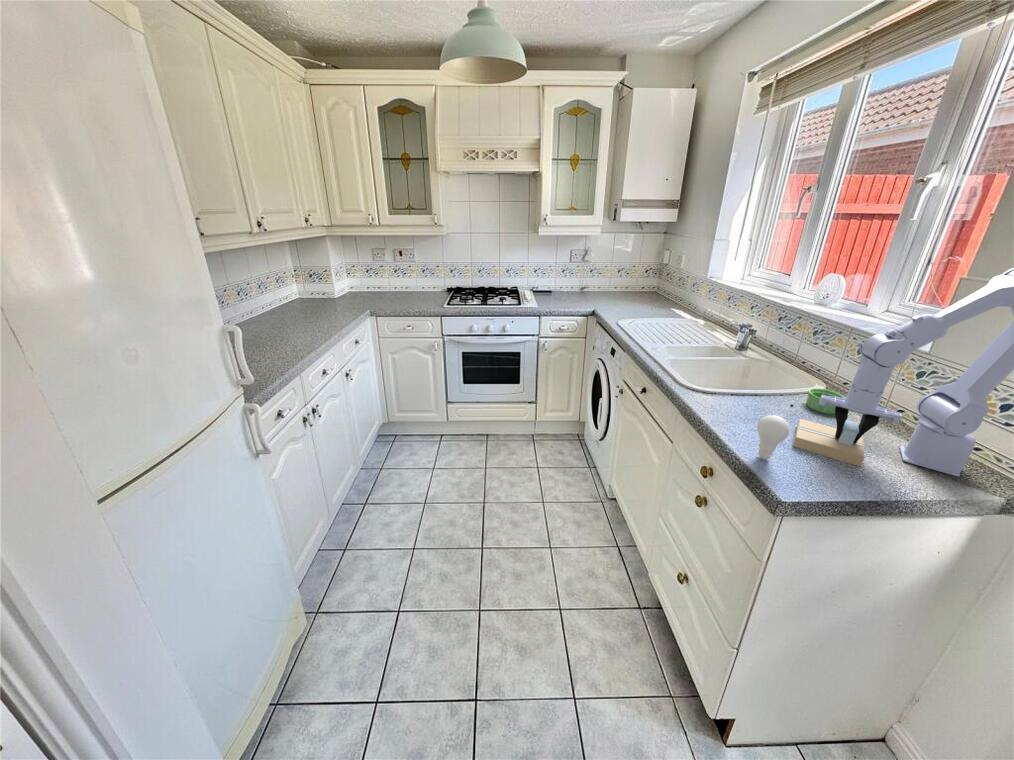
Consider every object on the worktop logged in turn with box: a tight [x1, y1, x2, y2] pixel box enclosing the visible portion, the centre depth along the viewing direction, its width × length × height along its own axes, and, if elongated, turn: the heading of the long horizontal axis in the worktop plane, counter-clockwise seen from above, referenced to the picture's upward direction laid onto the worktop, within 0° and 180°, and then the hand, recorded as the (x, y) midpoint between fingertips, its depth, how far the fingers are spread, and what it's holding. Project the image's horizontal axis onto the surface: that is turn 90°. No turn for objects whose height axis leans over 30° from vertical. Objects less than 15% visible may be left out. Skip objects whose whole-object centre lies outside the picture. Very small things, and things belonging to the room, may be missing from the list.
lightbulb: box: [756, 414, 791, 460], centre depth 92 cm, size 6×6×11 cm
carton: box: [792, 418, 865, 467], centre depth 100 cm, size 13×12×3 cm
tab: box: [838, 419, 860, 446], centre depth 97 cm, size 3×5×4 cm, turn 143°
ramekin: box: [806, 387, 846, 415], centre depth 119 cm, size 9×9×4 cm
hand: (845, 439), depth 98 cm, fingers closed on tab, 3 cm apart
